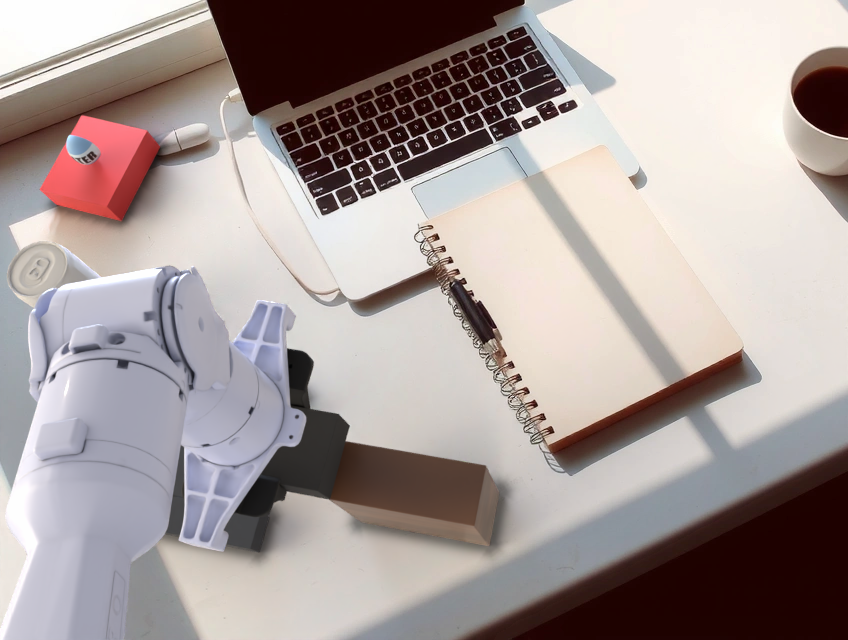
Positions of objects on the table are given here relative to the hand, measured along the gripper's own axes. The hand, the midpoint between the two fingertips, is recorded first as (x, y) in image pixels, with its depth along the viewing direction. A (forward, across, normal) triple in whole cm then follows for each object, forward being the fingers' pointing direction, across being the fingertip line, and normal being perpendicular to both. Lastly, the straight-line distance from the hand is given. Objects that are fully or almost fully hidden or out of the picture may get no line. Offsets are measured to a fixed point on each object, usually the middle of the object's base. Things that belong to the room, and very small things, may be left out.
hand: (283, 452), depth 62 cm
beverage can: (+11, +10, +22) cm, 26 cm away
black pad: (0, 0, 0) cm, 0 cm away
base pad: (+10, 0, +8) cm, 13 cm away
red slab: (+11, +24, +28) cm, 38 cm away
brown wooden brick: (+10, 0, -8) cm, 13 cm away
